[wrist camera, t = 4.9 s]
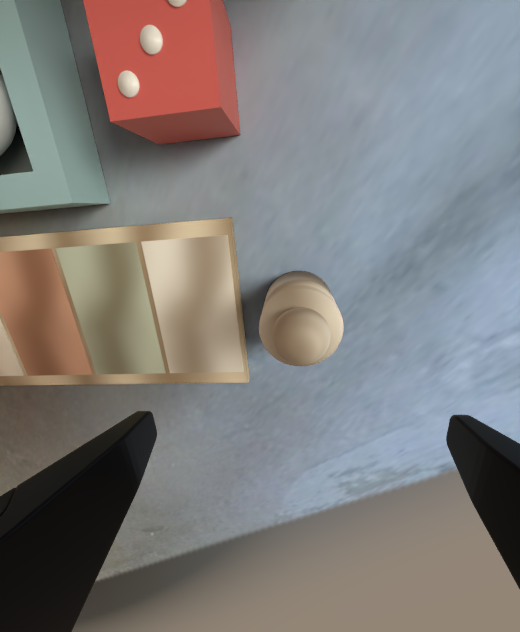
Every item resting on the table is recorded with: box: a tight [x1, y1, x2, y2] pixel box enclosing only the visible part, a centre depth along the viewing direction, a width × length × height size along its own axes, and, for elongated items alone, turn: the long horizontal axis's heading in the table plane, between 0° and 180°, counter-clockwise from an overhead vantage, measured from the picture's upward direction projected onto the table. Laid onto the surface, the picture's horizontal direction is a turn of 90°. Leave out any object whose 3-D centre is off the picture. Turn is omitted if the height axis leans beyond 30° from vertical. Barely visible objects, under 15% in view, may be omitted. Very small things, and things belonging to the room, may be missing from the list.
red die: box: [83, 0, 240, 144], centre depth 14 cm, size 5×5×5 cm
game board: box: [0, 218, 250, 386], centre depth 22 cm, size 25×12×1 cm, turn 95°
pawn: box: [259, 271, 343, 366], centre depth 17 cm, size 5×5×7 cm
